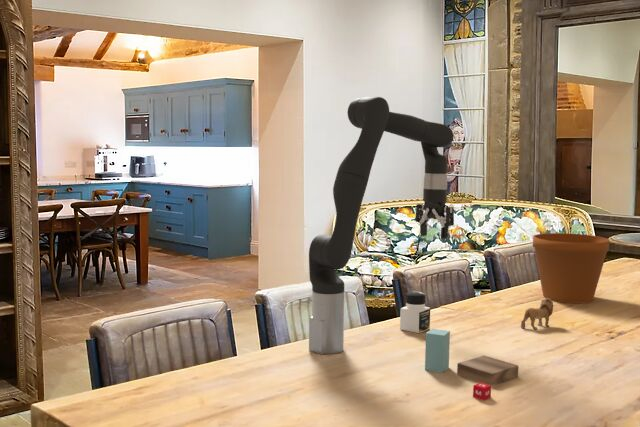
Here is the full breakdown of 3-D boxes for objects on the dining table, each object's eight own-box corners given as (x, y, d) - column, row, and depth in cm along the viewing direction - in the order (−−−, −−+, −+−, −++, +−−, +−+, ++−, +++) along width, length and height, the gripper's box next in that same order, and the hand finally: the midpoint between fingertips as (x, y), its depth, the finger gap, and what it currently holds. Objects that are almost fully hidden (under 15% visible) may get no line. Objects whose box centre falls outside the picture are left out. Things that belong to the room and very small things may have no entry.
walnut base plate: (491, 385, 182) (492, 373, 182) (457, 374, 191) (457, 363, 190) (517, 376, 189) (518, 365, 189) (483, 366, 198) (483, 355, 197)
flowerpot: (516, 292, 294) (519, 234, 291) (575, 288, 302) (578, 232, 300) (559, 307, 267) (562, 244, 265) (622, 303, 276) (625, 242, 273)
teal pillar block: (443, 372, 192) (444, 335, 191) (424, 369, 194) (426, 333, 193) (448, 367, 196) (449, 331, 195) (430, 364, 199) (432, 328, 198)
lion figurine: (542, 322, 247) (543, 295, 246) (556, 325, 242) (557, 298, 242) (516, 328, 237) (517, 301, 236) (530, 332, 233) (531, 304, 232)
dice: (472, 397, 174) (473, 385, 174) (479, 394, 176) (480, 382, 176) (483, 400, 172) (484, 388, 172) (490, 397, 174) (491, 385, 174)
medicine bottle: (419, 333, 230) (420, 296, 229) (399, 329, 234) (400, 293, 233) (430, 329, 236) (431, 292, 234) (410, 325, 240) (411, 289, 239)
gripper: (410, 186, 238) (409, 235, 240) (444, 189, 227) (443, 240, 229) (426, 185, 243) (424, 234, 245) (460, 188, 232) (458, 239, 234)
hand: (433, 237), depth 237 cm, fingers open, 8 cm apart
